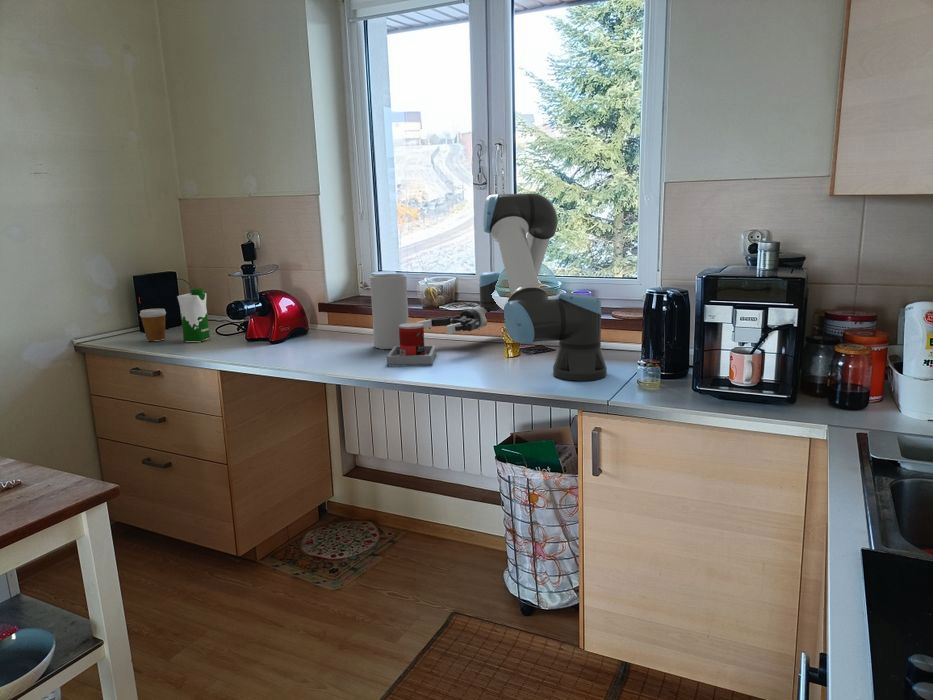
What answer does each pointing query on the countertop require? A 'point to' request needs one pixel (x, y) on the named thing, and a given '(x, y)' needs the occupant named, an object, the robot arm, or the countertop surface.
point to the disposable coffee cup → (153, 323)
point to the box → (411, 357)
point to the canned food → (411, 339)
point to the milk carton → (194, 315)
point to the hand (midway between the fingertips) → (432, 328)
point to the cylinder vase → (388, 308)
